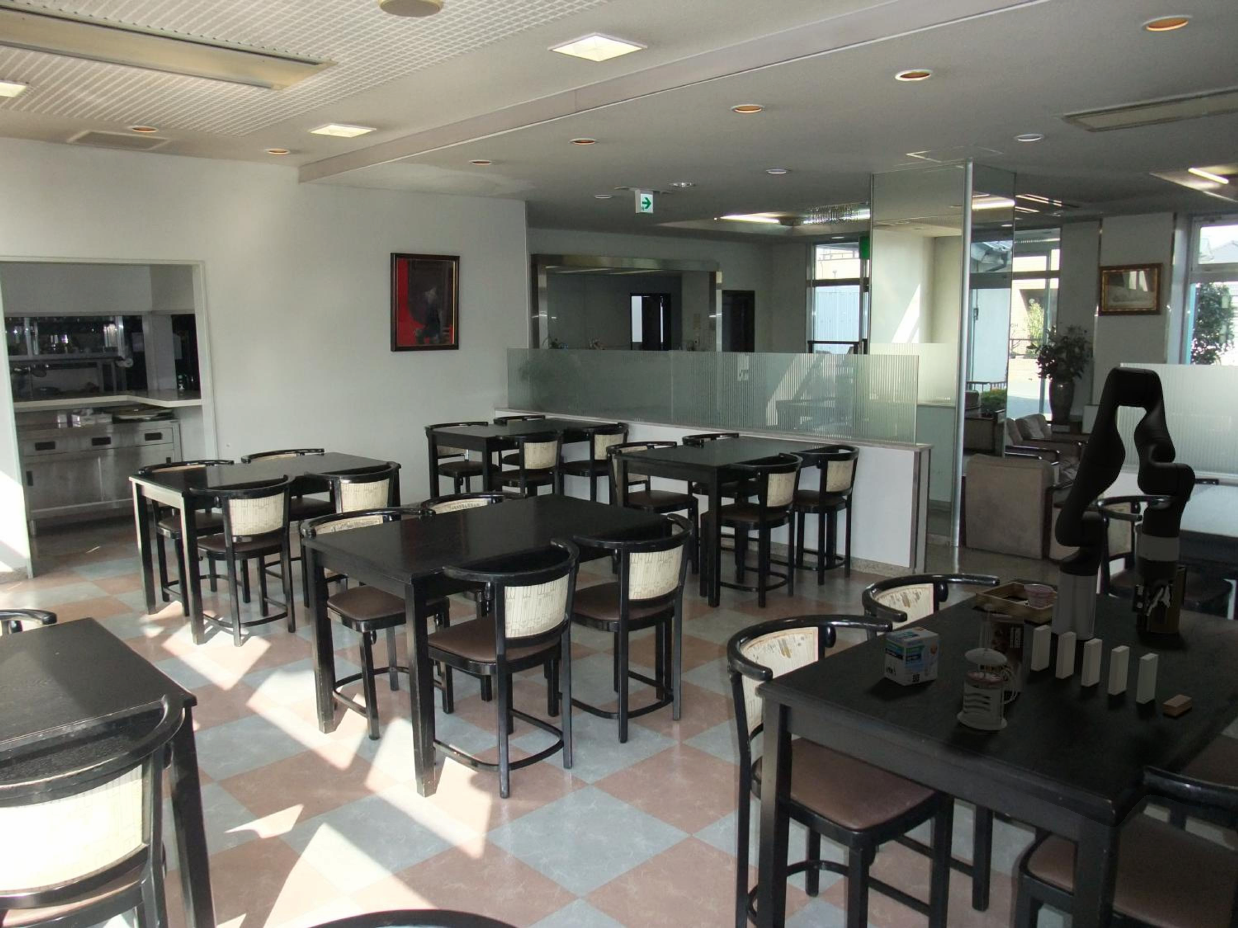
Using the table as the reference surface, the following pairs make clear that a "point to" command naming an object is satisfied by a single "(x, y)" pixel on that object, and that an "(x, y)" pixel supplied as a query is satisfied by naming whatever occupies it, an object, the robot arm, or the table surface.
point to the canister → (1171, 605)
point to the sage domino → (1147, 678)
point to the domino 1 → (1041, 647)
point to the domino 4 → (1118, 670)
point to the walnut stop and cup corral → (1044, 615)
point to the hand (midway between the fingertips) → (1150, 627)
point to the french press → (985, 689)
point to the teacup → (1037, 595)
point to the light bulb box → (911, 656)
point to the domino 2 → (1065, 655)
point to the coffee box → (1004, 646)
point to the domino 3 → (1091, 662)
